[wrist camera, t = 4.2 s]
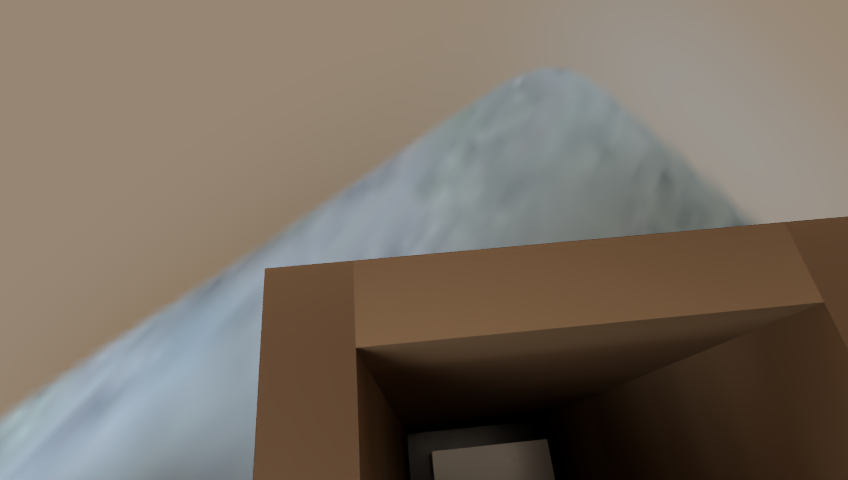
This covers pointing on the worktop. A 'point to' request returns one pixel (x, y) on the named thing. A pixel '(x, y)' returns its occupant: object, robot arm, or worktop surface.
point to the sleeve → (568, 356)
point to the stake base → (461, 440)
